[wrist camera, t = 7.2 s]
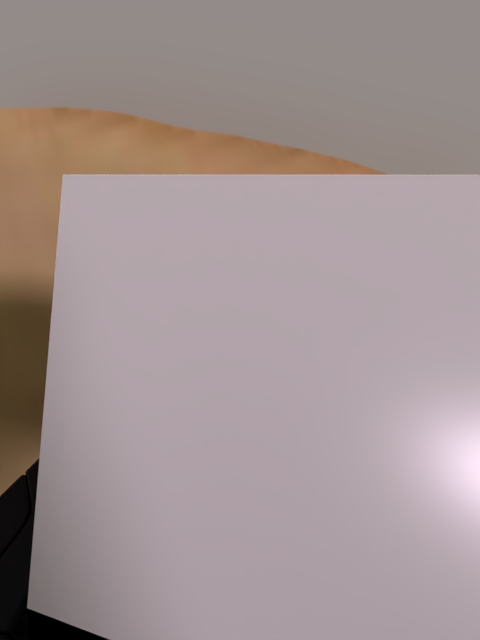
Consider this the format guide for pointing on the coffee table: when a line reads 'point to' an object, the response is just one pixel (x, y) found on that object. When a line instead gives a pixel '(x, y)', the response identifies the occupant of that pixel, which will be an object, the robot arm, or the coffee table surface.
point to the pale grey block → (261, 410)
